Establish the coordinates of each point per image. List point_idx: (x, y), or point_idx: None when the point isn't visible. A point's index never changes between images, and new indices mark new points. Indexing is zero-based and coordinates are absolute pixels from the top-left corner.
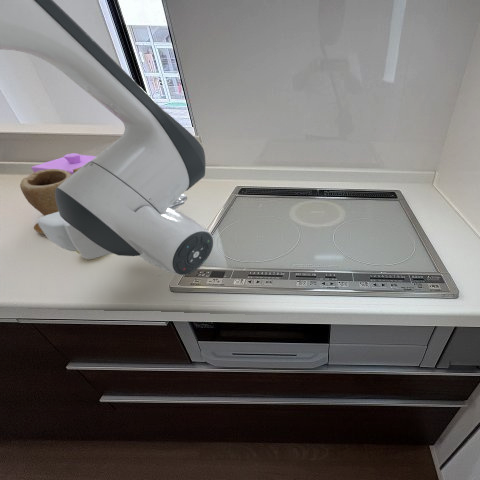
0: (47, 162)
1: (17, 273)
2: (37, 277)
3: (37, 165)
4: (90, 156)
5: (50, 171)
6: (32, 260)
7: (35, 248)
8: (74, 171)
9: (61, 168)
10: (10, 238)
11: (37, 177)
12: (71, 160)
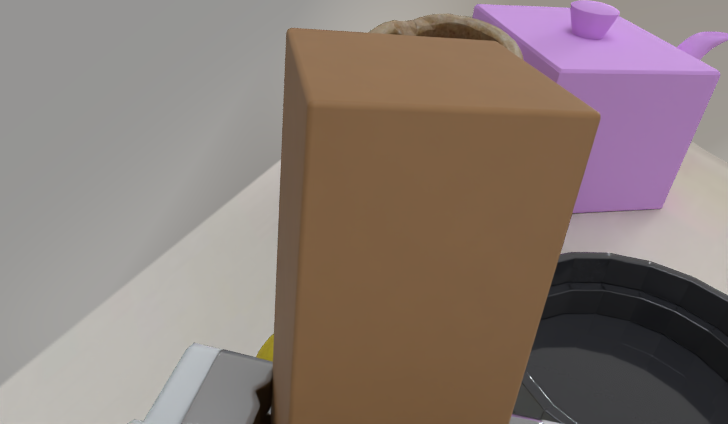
0: (522, 7)
1: (126, 316)
2: (113, 389)
3: (492, 5)
4: (646, 34)
5: (476, 29)
6: (203, 293)
7: (262, 250)
8: (285, 59)
9: (532, 37)
10: (277, 173)
11: (429, 34)
12: (580, 23)
